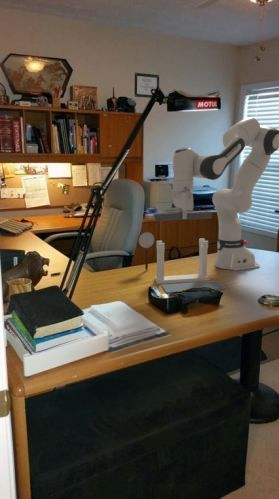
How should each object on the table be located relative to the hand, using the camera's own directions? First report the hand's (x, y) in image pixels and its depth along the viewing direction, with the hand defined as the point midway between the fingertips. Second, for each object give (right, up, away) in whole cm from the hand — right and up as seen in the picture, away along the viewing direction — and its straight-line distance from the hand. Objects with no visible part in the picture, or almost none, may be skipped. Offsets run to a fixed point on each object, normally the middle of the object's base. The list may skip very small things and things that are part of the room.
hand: (182, 217), depth 179 cm
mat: (+4, -31, -3) cm, 31 cm away
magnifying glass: (-16, -25, +22) cm, 37 cm away
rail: (0, -1, 0) cm, 1 cm away
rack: (0, -28, +7) cm, 29 cm away
